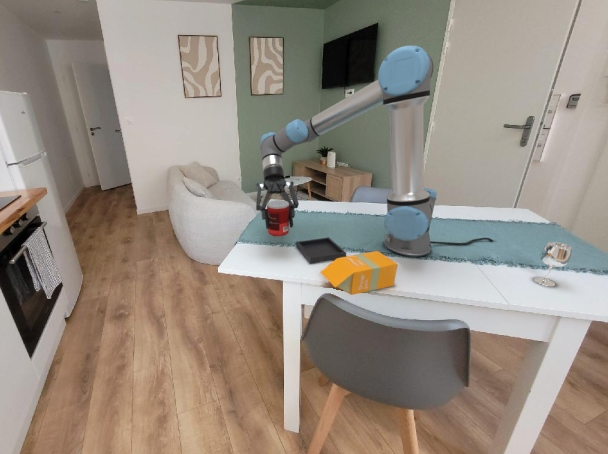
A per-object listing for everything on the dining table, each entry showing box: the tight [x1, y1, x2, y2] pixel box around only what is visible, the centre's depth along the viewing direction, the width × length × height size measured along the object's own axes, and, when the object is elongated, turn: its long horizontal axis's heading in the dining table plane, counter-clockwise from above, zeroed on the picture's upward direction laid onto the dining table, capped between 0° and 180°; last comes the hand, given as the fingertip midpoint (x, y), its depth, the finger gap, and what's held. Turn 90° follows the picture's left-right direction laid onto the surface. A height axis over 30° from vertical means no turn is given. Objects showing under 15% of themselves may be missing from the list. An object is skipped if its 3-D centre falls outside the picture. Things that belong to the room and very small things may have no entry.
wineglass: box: [533, 241, 573, 287], centre depth 83 cm, size 6×6×12 cm
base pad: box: [295, 236, 347, 265], centre depth 108 cm, size 14×14×2 cm
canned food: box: [266, 199, 290, 237], centre depth 102 cm, size 8×8×11 cm
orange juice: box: [319, 250, 398, 296], centre depth 87 cm, size 8×9×20 cm
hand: (279, 226), depth 100 cm, fingers closed on canned food, 8 cm apart
